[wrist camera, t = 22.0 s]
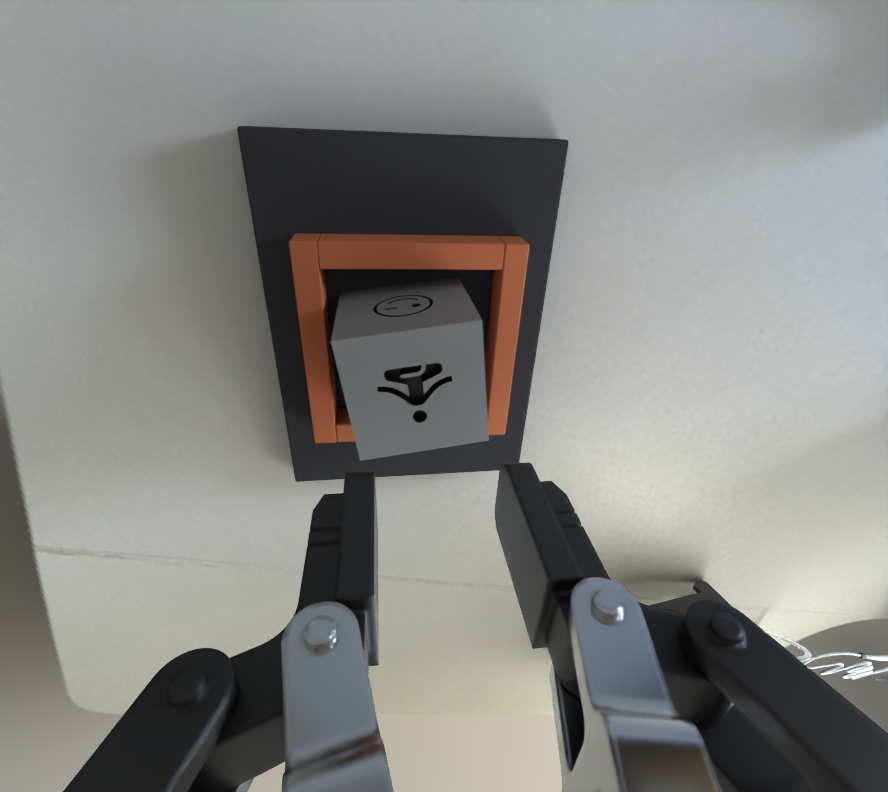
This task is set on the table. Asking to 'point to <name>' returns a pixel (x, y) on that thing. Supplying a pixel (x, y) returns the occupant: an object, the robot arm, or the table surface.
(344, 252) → the black pad
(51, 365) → the table surface
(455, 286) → the dice cube
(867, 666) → the headphones
